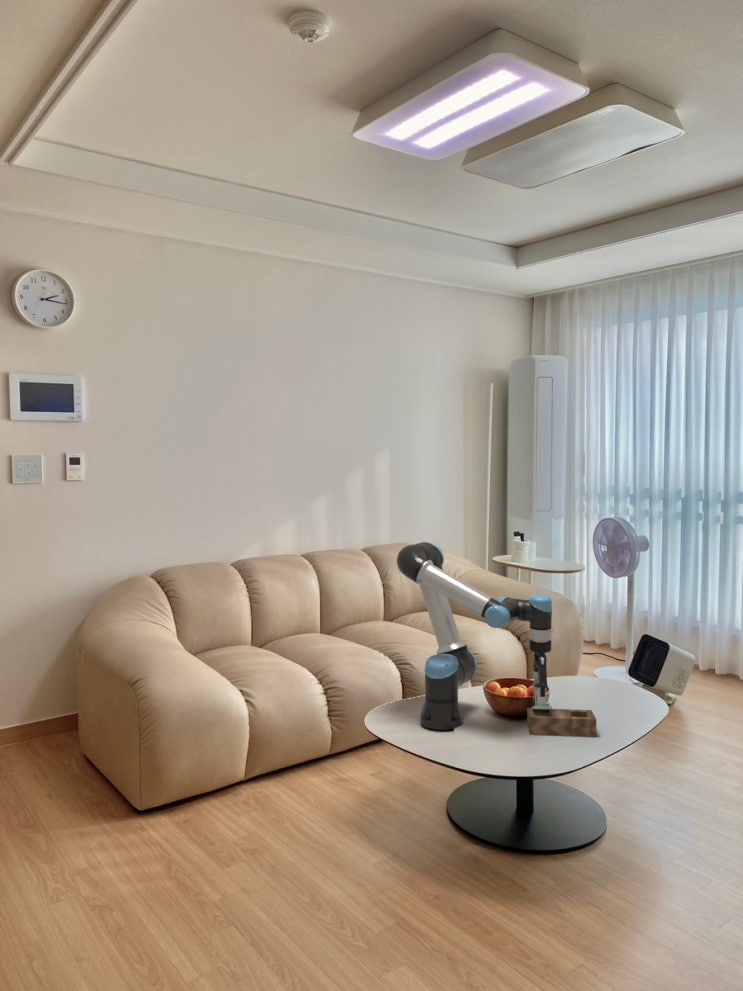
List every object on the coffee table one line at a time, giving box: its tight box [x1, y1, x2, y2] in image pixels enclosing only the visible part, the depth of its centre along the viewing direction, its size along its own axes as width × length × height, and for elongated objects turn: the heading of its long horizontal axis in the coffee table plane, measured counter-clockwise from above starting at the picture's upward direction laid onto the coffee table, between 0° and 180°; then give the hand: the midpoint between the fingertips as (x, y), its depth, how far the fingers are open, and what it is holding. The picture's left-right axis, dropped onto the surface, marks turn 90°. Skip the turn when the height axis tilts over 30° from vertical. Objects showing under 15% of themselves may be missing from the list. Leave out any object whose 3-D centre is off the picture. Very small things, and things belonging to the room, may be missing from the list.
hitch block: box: [526, 708, 597, 738], centre depth 271 cm, size 22×10×6 cm, turn 83°
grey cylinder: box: [532, 680, 547, 706], centre depth 280 cm, size 5×5×10 cm
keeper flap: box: [531, 705, 553, 710], centre depth 272 cm, size 6×1×8 cm
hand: (539, 697), depth 279 cm, fingers open, 13 cm apart
